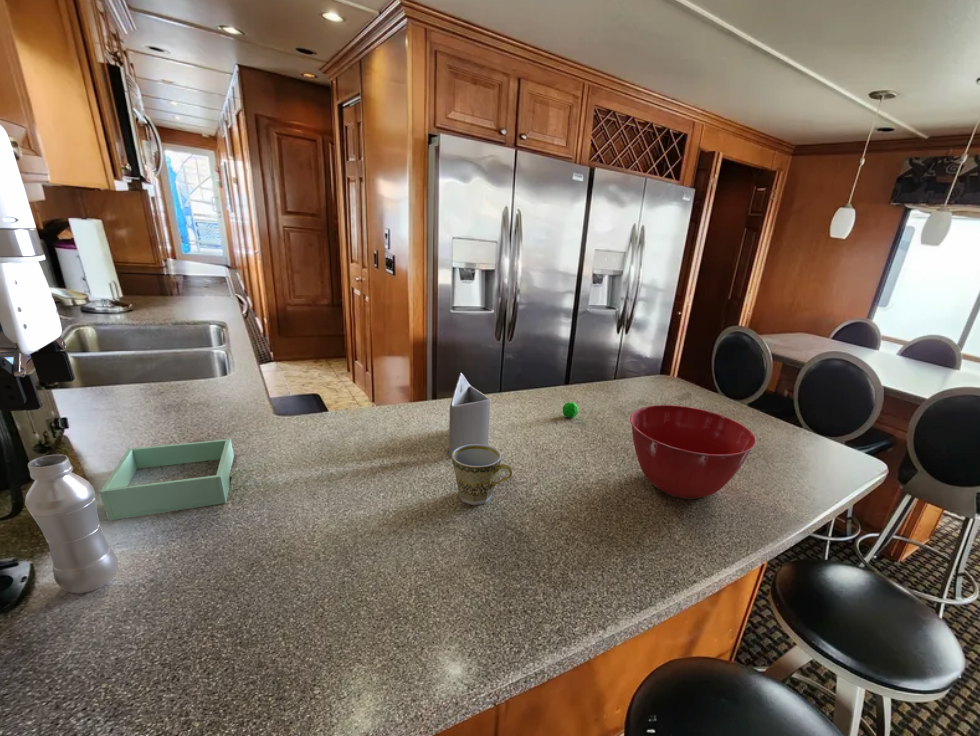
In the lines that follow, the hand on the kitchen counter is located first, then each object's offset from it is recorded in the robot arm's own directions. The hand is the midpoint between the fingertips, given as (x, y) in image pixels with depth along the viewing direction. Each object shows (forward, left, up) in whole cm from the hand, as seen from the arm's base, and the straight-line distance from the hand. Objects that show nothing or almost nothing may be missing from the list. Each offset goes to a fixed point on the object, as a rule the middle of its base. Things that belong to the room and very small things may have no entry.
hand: (41, 394), depth 55 cm
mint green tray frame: (+4, +26, -29) cm, 40 cm away
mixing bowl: (+105, -5, -30) cm, 109 cm away
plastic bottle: (-2, +1, -30) cm, 30 cm away
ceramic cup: (+58, +4, -30) cm, 65 cm away
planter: (+64, +28, -30) cm, 76 cm away
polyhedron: (+99, +39, -30) cm, 111 cm away
